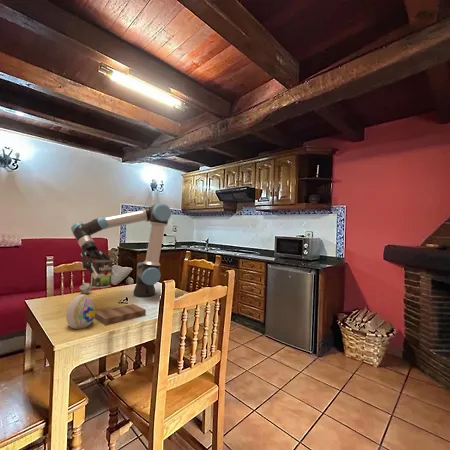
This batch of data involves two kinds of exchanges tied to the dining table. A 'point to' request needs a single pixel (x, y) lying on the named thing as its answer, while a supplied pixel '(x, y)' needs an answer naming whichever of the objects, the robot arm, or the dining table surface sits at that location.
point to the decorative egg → (80, 312)
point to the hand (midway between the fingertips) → (105, 275)
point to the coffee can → (101, 273)
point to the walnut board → (119, 314)
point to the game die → (85, 288)
